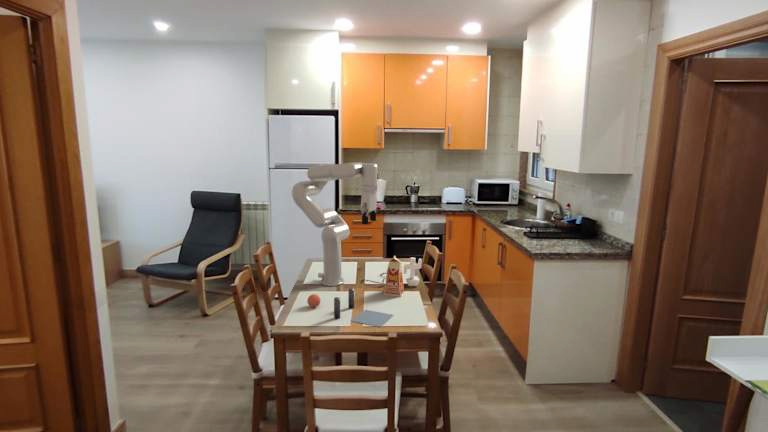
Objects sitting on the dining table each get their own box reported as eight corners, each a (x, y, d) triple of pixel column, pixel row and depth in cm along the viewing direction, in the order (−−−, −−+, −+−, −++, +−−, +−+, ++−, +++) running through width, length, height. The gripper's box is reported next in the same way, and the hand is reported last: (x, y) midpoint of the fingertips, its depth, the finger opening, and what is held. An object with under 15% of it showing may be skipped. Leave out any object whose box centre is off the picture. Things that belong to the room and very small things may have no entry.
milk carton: (401, 296, 222) (402, 257, 218) (383, 295, 223) (383, 256, 220) (404, 290, 230) (405, 253, 227) (386, 289, 232) (387, 251, 229)
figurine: (402, 282, 243) (403, 256, 240) (419, 282, 244) (420, 255, 241) (404, 287, 236) (405, 259, 233) (422, 286, 237) (423, 259, 234)
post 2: (347, 308, 205) (347, 289, 204) (350, 306, 208) (350, 287, 206) (352, 309, 204) (352, 290, 203) (355, 307, 207) (355, 288, 205)
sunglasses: (380, 289, 234) (380, 279, 233) (359, 282, 244) (359, 273, 243) (400, 281, 247) (400, 272, 246) (379, 275, 256) (380, 267, 255)
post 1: (333, 318, 194) (333, 298, 192) (336, 316, 196) (336, 296, 194) (338, 319, 193) (338, 299, 191) (341, 317, 195) (341, 297, 193)
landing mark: (350, 321, 191) (350, 320, 191) (365, 309, 204) (365, 309, 204) (380, 327, 186) (380, 326, 185) (393, 315, 198) (393, 314, 198)
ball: (304, 307, 205) (304, 295, 204) (312, 303, 210) (311, 291, 209) (316, 310, 203) (315, 297, 201) (323, 305, 208) (322, 293, 207)
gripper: (369, 186, 230) (369, 218, 233) (355, 189, 215) (354, 224, 218) (383, 187, 228) (382, 220, 231) (369, 190, 212) (368, 226, 215)
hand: (369, 222), depth 224 cm, fingers open, 9 cm apart
